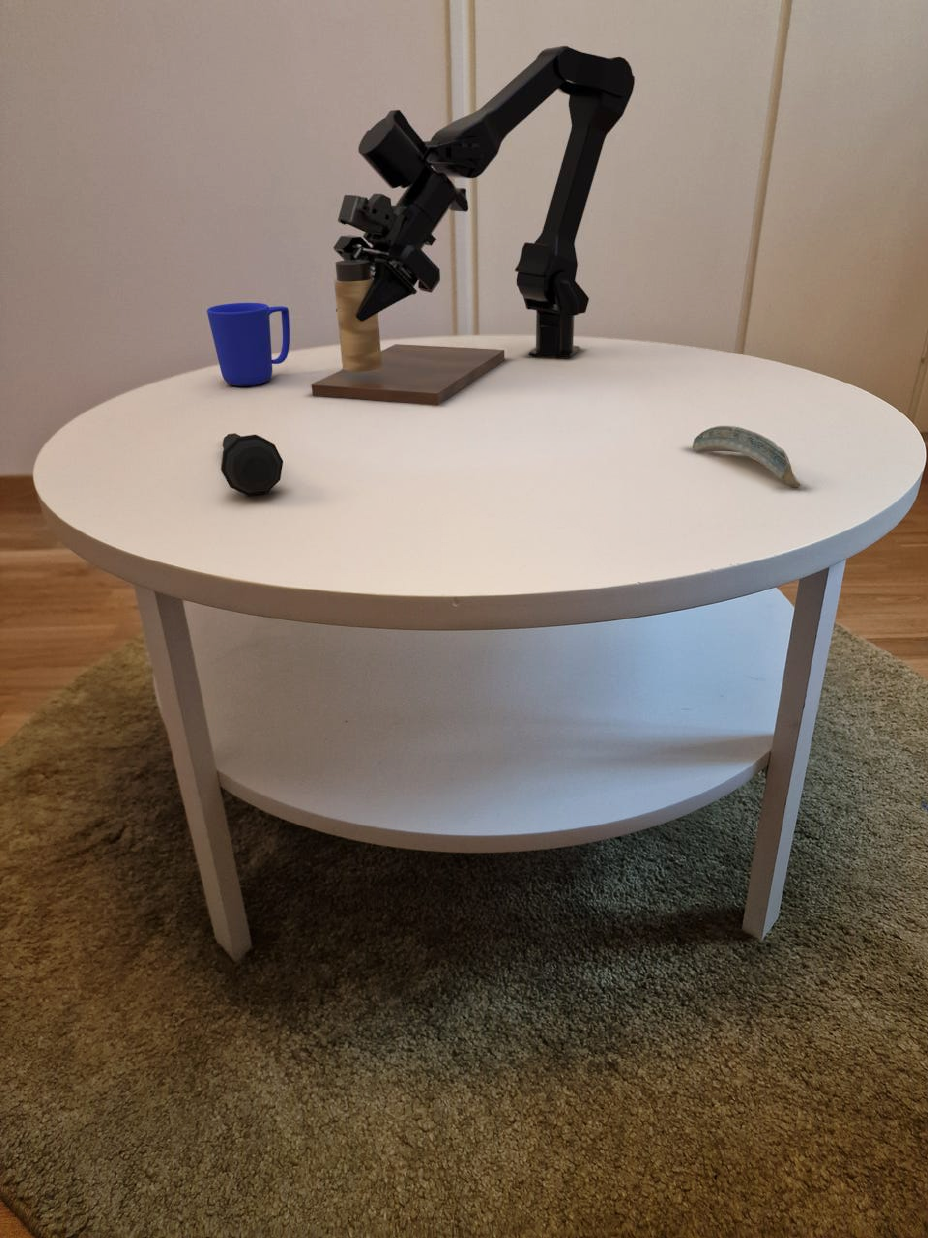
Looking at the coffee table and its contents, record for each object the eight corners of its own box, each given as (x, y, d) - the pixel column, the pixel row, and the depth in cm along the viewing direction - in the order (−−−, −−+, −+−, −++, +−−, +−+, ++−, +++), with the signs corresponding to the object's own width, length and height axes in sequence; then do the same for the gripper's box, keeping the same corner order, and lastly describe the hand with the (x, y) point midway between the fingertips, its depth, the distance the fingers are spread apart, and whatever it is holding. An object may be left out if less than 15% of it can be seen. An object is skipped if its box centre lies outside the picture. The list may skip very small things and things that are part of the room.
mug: (311, 375, 122) (303, 301, 118) (240, 392, 115) (228, 314, 110) (277, 367, 127) (268, 296, 123) (207, 383, 120) (194, 308, 115)
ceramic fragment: (690, 448, 89) (694, 412, 87) (730, 441, 91) (735, 405, 89) (781, 493, 78) (788, 453, 76) (825, 484, 79) (834, 444, 77)
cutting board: (396, 353, 133) (395, 343, 133) (504, 359, 128) (504, 349, 127) (312, 395, 112) (311, 384, 112) (438, 405, 107) (437, 393, 106)
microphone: (219, 472, 95) (244, 512, 78) (193, 425, 93) (213, 455, 75) (262, 450, 96) (298, 485, 79) (238, 403, 94) (269, 428, 76)
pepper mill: (384, 361, 116) (376, 258, 109) (379, 370, 111) (370, 263, 105) (346, 362, 116) (336, 259, 109) (339, 371, 111) (328, 265, 105)
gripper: (339, 167, 111) (272, 267, 111) (412, 167, 97) (336, 281, 97) (396, 228, 118) (333, 321, 119) (471, 237, 105) (400, 342, 105)
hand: (348, 316), depth 110 cm, fingers closed on pepper mill, 5 cm apart
